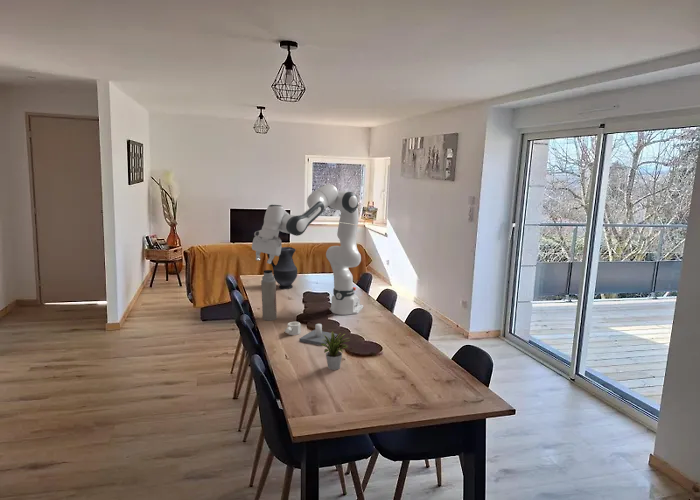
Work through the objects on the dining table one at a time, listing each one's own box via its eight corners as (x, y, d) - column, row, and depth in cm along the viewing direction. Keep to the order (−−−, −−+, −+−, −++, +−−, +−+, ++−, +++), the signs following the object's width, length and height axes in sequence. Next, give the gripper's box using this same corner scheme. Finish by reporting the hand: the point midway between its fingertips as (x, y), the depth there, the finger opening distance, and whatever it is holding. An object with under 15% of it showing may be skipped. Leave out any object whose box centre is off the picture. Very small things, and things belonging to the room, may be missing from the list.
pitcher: (296, 290, 337) (295, 248, 331) (266, 290, 337) (264, 248, 332) (299, 284, 354) (298, 243, 348) (270, 284, 354) (269, 243, 349)
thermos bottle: (278, 316, 280) (277, 269, 275) (273, 320, 273) (272, 272, 268) (265, 315, 282) (264, 268, 277) (260, 320, 274) (258, 271, 269)
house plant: (337, 378, 200) (337, 341, 197) (310, 371, 207) (310, 334, 204) (355, 366, 211) (355, 330, 209) (329, 359, 219) (329, 325, 216)
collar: (292, 330, 258) (292, 321, 257) (302, 331, 255) (302, 322, 254) (281, 335, 249) (281, 326, 248) (292, 337, 246) (292, 328, 245)
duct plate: (314, 332, 254) (313, 318, 252) (337, 336, 247) (337, 322, 246) (299, 341, 241) (299, 326, 240) (323, 345, 235) (323, 331, 234)
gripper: (286, 239, 241) (280, 266, 241) (262, 234, 255) (256, 259, 255) (277, 236, 237) (270, 264, 237) (252, 231, 251) (246, 257, 251)
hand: (263, 262), depth 246 cm, fingers open, 8 cm apart
